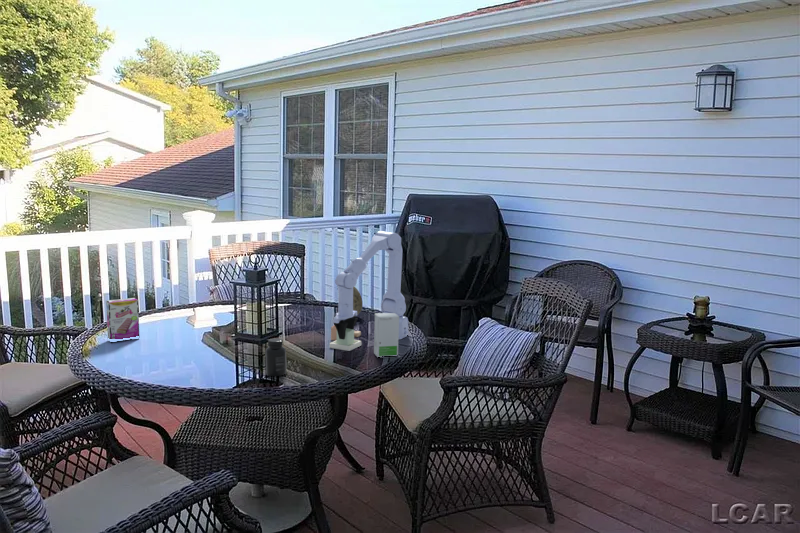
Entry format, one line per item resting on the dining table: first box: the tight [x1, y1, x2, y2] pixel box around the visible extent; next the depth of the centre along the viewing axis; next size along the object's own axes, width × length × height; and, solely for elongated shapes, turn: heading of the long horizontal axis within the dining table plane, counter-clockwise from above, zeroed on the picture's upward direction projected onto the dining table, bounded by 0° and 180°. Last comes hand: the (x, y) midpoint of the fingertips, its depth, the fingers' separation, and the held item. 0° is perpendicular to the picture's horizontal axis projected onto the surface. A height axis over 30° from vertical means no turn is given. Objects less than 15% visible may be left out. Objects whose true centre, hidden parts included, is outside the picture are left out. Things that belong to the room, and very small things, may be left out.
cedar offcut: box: [354, 330, 362, 338], centre depth 272 cm, size 6×3×2 cm, turn 69°
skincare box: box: [373, 312, 400, 358], centre depth 244 cm, size 8×7×16 cm
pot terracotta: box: [330, 324, 337, 341], centre depth 266 cm, size 5×5×6 cm
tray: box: [329, 339, 362, 352], centre depth 256 cm, size 9×9×2 cm
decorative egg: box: [353, 286, 363, 318], centre depth 302 cm, size 11×11×15 cm
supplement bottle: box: [265, 337, 287, 377], centre depth 221 cm, size 7×7×12 cm
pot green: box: [337, 328, 355, 346], centre depth 255 cm, size 5×5×6 cm
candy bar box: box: [105, 297, 140, 339], centre depth 259 cm, size 11×5×16 cm, turn 126°
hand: (345, 337), depth 255 cm, fingers closed on pot green, 5 cm apart
